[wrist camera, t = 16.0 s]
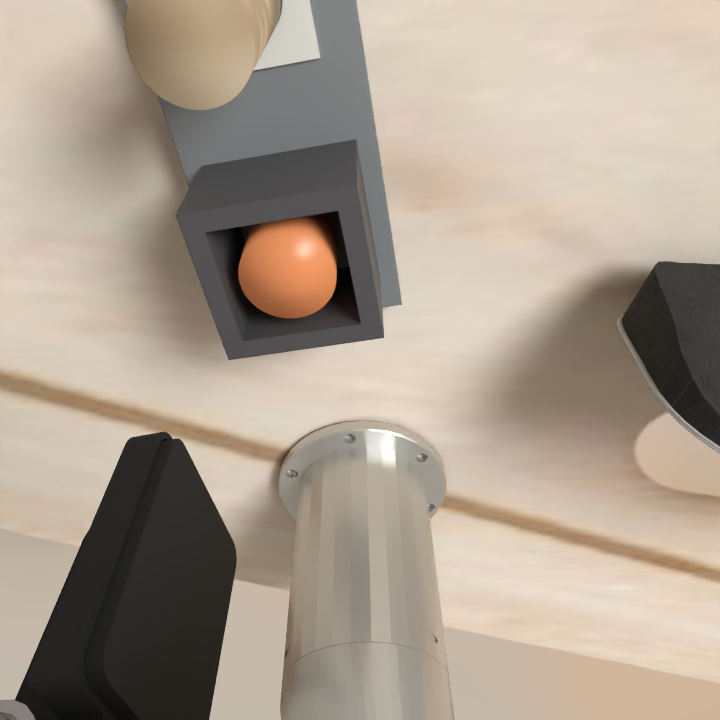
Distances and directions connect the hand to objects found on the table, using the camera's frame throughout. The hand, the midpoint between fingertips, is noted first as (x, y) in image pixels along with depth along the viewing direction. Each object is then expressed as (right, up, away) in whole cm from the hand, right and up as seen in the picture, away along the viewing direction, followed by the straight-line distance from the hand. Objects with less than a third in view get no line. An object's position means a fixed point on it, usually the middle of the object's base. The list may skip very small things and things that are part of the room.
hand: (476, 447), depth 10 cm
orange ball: (-5, +8, +24) cm, 26 cm away
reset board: (-6, +13, +23) cm, 27 cm away
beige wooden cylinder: (-7, +17, +18) cm, 26 cm away
